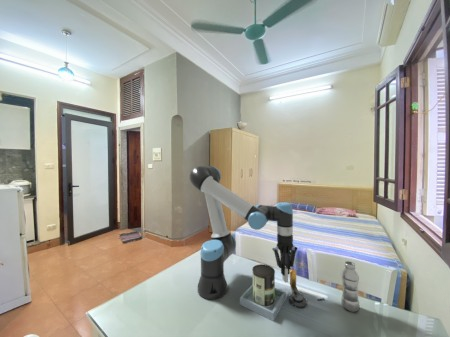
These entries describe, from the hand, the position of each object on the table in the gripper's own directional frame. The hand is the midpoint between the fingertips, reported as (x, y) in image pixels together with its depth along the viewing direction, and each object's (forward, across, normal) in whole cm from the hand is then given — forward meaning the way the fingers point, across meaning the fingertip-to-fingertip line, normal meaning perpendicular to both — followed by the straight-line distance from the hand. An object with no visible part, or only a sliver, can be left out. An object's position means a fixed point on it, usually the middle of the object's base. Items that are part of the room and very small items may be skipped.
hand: (285, 280), depth 94 cm
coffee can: (+5, -13, -4) cm, 15 cm away
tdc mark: (+6, +13, -9) cm, 17 cm away
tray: (+6, -14, -4) cm, 15 cm away
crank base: (+6, +2, -8) cm, 10 cm away
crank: (+4, +3, -4) cm, 7 cm away
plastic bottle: (+6, +22, -17) cm, 28 cm away
